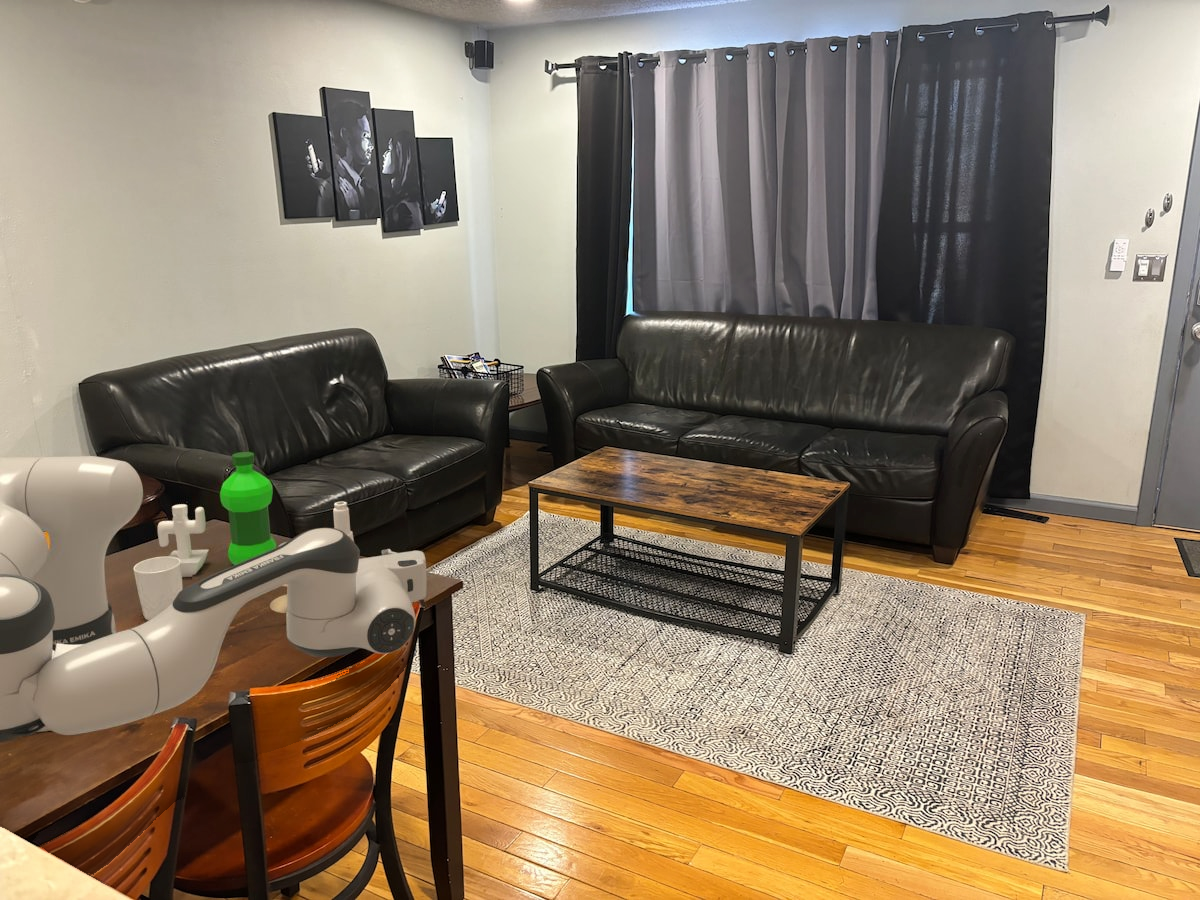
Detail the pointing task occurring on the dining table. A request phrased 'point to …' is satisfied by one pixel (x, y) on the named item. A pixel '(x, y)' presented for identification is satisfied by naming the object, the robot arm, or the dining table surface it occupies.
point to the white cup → (158, 584)
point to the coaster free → (279, 604)
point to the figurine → (184, 538)
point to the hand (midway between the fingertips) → (358, 557)
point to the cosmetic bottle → (342, 518)
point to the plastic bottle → (247, 510)
